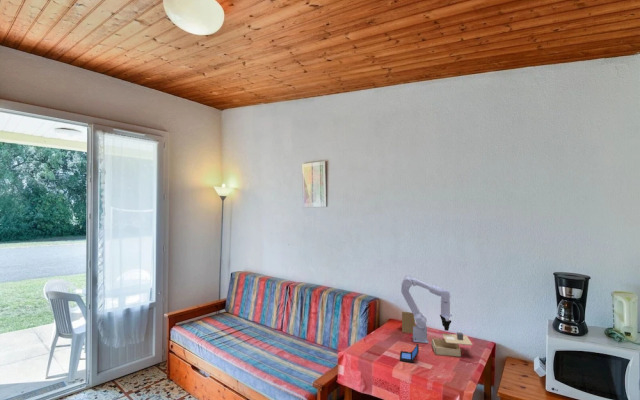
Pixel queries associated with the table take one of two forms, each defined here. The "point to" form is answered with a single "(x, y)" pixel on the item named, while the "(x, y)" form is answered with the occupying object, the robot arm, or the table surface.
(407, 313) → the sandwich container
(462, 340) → the carton lid
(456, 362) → the table surface
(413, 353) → the handheld game console
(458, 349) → the carton
